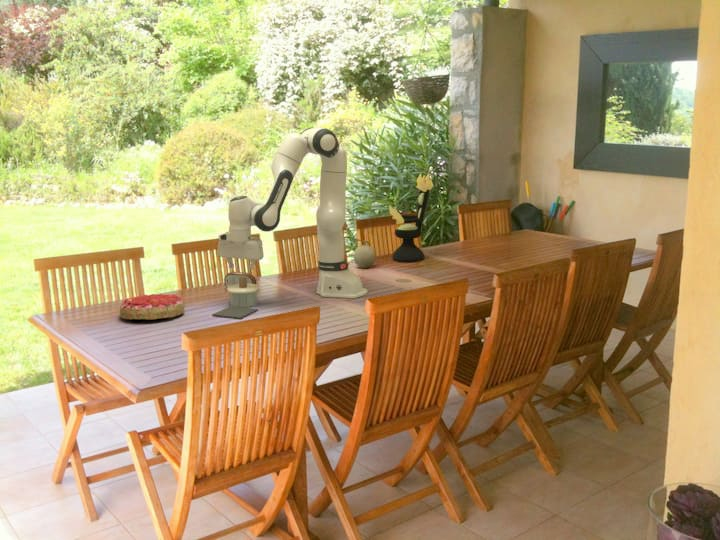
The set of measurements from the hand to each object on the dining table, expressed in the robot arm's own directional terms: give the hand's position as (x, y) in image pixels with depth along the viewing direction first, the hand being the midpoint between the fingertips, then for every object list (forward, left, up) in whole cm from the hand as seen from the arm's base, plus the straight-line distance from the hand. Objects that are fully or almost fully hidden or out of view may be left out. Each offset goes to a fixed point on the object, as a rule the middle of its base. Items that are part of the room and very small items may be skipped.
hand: (241, 269), depth 321 cm
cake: (+25, +28, -15) cm, 40 cm away
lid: (0, 0, -9) cm, 9 cm away
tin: (+14, -19, -15) cm, 28 cm away
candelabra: (-34, -109, -15) cm, 116 cm away
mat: (-5, +14, -15) cm, 21 cm away
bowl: (0, 0, -15) cm, 15 cm away
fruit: (-19, -82, -15) cm, 86 cm away
